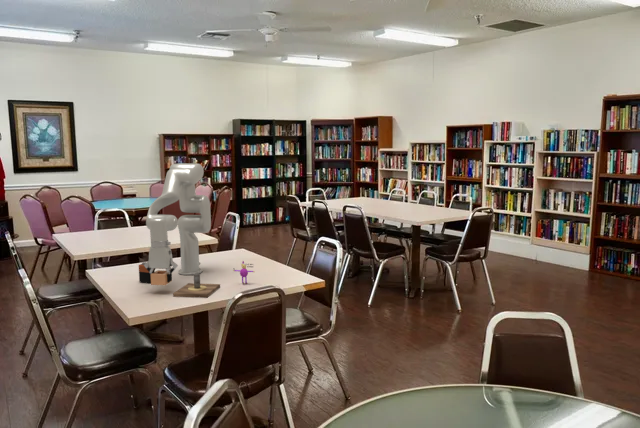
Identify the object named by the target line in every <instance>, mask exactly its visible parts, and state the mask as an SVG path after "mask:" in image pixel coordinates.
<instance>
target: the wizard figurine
mask: <svg viewBox="0 0 640 428" xmlns="http://www.w3.org/2000/svg"><path fill="white" fill-rule="evenodd" d="M240 265H241V269H236V270H235V269H233V270H232V271H233V272H239V274H240V276H241V284H245V285H248V280H247V276H248V274H249V273H255V270H248V269H247V268H254V265H253V263H250V265H248V264H247V263H245V262H244V260H242V261H241V263H240ZM244 279H245V281H244ZM244 282H245V283H244Z"/></svg>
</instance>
